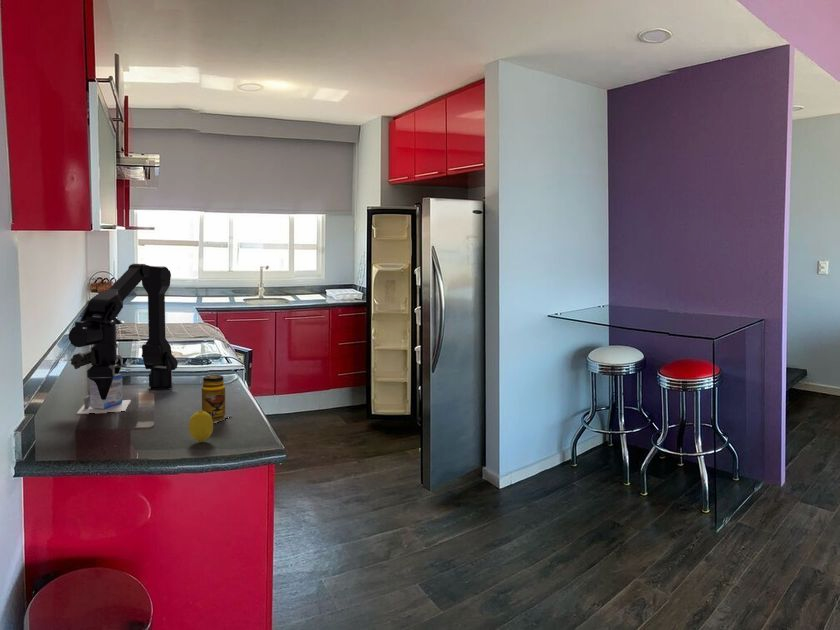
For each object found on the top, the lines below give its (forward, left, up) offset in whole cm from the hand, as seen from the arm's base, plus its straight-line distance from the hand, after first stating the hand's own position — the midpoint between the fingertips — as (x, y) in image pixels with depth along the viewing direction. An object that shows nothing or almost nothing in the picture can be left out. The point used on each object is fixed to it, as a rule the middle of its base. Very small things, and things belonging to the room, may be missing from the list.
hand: (106, 395), depth 172 cm
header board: (+1, 0, -4) cm, 4 cm away
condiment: (-28, +18, -4) cm, 34 cm away
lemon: (-26, +38, -4) cm, 46 cm away
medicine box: (0, 0, -3) cm, 3 cm away
